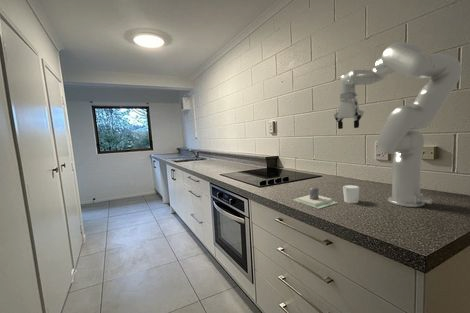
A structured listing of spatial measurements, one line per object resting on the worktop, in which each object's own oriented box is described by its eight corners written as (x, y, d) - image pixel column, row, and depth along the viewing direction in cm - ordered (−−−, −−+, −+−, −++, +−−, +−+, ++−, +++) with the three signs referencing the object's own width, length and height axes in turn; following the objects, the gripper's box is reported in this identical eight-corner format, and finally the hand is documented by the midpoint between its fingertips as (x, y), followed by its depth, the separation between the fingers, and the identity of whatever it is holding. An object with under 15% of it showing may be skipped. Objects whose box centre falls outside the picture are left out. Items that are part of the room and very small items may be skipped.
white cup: (344, 198, 107) (344, 184, 106) (361, 200, 102) (360, 185, 102) (341, 202, 101) (341, 187, 101) (358, 204, 97) (357, 189, 96)
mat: (337, 203, 100) (337, 202, 100) (318, 209, 95) (318, 208, 95) (310, 195, 114) (310, 194, 114) (292, 200, 109) (292, 199, 109)
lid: (331, 201, 102) (331, 188, 102) (315, 206, 97) (314, 192, 96) (313, 196, 112) (312, 184, 111) (297, 200, 107) (296, 188, 106)
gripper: (367, 94, 116) (367, 127, 118) (338, 99, 131) (338, 128, 133) (358, 94, 113) (358, 127, 115) (329, 99, 128) (330, 129, 130)
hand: (348, 128), depth 124 cm, fingers open, 9 cm apart
